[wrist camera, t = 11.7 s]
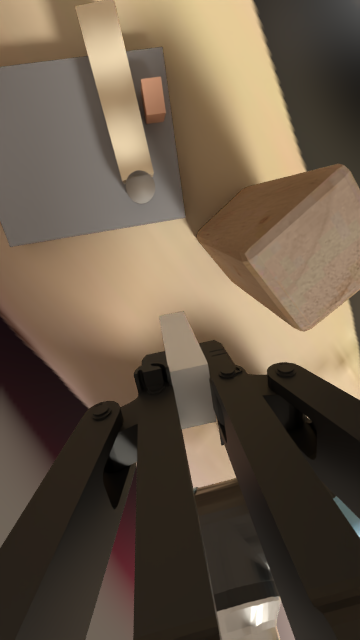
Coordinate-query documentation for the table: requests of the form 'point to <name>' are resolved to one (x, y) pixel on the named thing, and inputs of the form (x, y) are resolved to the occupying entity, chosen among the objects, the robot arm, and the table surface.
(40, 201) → the stool seat
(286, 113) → the table surface
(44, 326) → the table surface
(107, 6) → the folding leg
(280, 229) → the wooden block
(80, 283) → the table surface
